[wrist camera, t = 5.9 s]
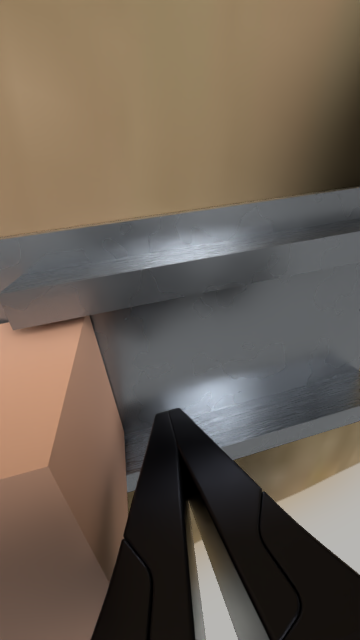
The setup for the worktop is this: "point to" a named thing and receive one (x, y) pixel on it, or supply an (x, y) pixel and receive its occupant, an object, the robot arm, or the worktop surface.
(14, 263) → the chute
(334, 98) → the worktop surface
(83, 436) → the block
